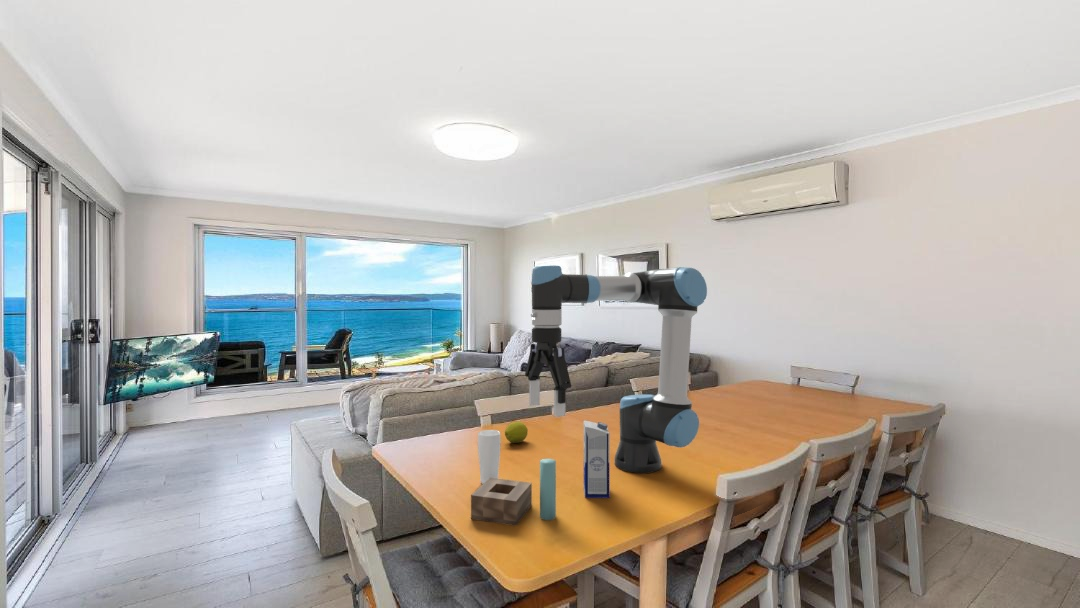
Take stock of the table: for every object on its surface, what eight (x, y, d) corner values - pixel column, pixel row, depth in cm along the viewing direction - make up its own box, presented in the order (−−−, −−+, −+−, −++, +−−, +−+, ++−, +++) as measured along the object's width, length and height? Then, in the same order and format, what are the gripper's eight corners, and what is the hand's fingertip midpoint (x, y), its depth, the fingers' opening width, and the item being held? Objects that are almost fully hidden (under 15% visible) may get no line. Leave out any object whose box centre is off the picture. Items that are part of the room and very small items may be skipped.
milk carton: (583, 487, 138) (583, 419, 138) (606, 487, 138) (606, 419, 138) (585, 497, 131) (585, 425, 131) (609, 498, 131) (609, 426, 131)
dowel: (557, 514, 122) (557, 459, 121) (553, 521, 118) (553, 464, 118) (542, 512, 123) (542, 458, 123) (537, 518, 119) (537, 463, 119)
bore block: (531, 505, 127) (531, 482, 127) (516, 525, 115) (516, 501, 115) (490, 499, 130) (490, 477, 130) (471, 518, 119) (471, 495, 119)
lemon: (520, 437, 188) (520, 417, 188) (533, 442, 182) (533, 421, 182) (498, 443, 181) (498, 422, 181) (511, 448, 175) (511, 426, 175)
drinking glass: (491, 488, 138) (491, 437, 138) (473, 483, 141) (473, 433, 141) (505, 481, 144) (505, 431, 143) (487, 476, 147) (487, 428, 147)
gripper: (513, 324, 129) (513, 402, 130) (557, 330, 107) (557, 423, 108) (537, 323, 133) (537, 399, 133) (585, 329, 111) (585, 419, 111)
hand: (546, 410), depth 120 cm, fingers open, 13 cm apart
